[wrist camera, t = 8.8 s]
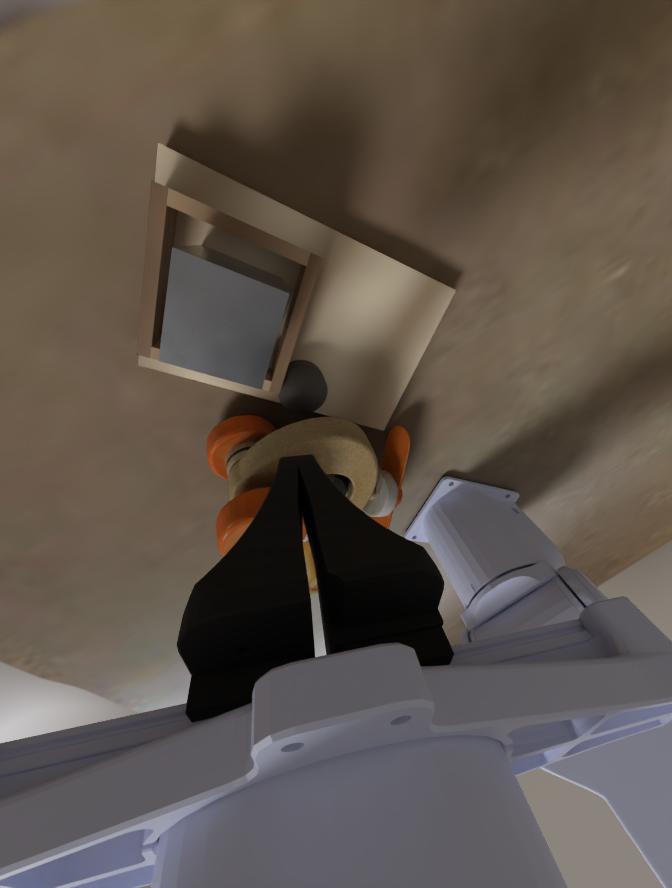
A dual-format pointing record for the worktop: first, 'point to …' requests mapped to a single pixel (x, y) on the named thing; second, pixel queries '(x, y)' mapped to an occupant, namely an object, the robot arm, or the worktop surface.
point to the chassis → (295, 295)
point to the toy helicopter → (327, 438)
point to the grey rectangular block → (221, 315)
